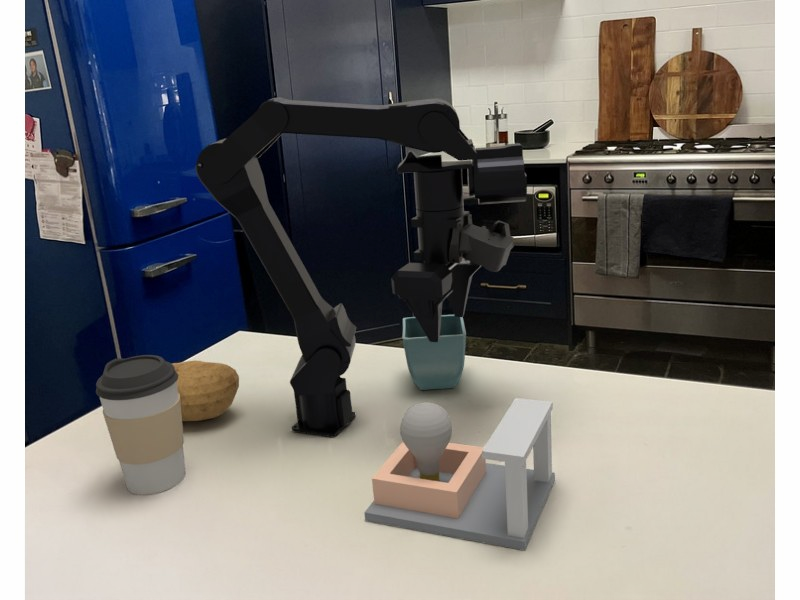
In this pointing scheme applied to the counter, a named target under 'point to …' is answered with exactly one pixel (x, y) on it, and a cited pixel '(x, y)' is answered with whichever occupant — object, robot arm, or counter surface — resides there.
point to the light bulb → (426, 436)
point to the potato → (205, 389)
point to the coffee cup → (144, 421)
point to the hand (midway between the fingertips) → (447, 328)
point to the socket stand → (474, 484)
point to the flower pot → (435, 353)
